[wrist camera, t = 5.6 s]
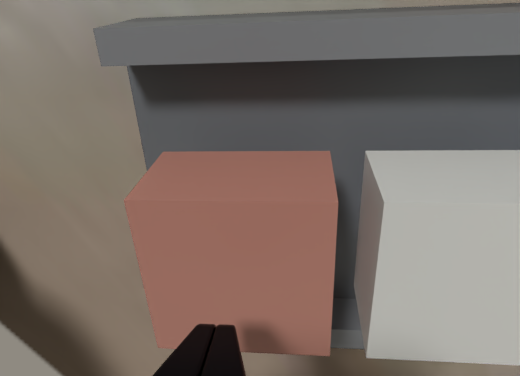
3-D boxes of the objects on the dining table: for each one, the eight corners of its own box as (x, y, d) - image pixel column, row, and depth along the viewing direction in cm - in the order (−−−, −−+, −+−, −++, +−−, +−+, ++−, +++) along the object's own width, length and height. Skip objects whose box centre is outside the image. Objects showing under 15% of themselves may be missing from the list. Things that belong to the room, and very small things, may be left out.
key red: (184, 279, 14) (158, 347, 12) (163, 151, 12) (123, 200, 9) (324, 284, 14) (329, 356, 11) (330, 150, 11) (338, 202, 9)
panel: (182, 286, 19) (162, 339, 16) (136, 18, 14) (92, 28, 11) (633, 301, 17) (699, 364, 14) (795, -9, 12) (954, -5, 9)
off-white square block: (353, 285, 14) (366, 357, 11) (365, 150, 11) (384, 202, 9) (506, 289, 13) (557, 367, 11) (551, 150, 11) (631, 204, 8)
